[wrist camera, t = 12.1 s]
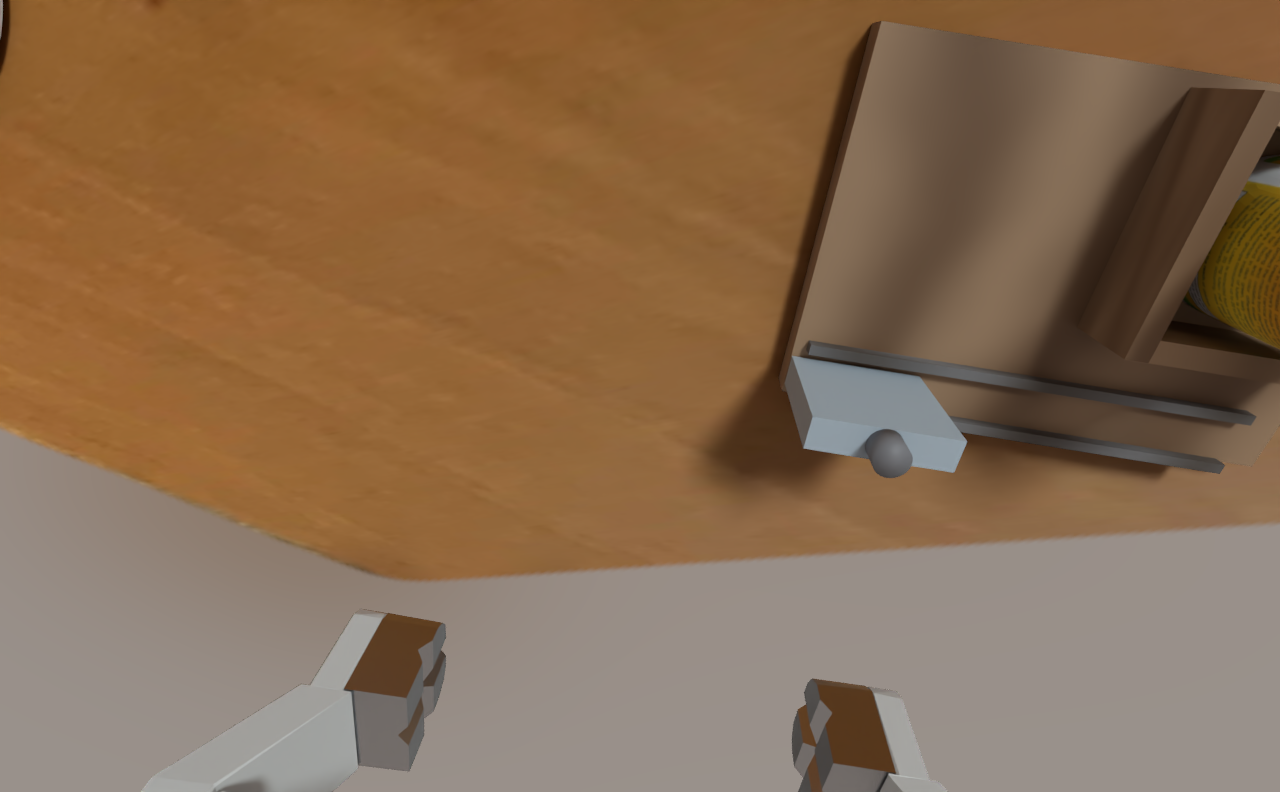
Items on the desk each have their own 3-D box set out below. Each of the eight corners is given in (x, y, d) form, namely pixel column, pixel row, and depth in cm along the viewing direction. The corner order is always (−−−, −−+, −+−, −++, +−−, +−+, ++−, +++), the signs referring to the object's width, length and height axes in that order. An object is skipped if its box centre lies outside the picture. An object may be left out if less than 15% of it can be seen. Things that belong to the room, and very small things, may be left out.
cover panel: (784, 383, 26) (807, 464, 21) (791, 355, 25) (818, 432, 20) (909, 403, 26) (965, 490, 21) (919, 376, 25) (979, 458, 20)
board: (776, 384, 27) (789, 434, 24) (872, 23, 21) (909, 13, 18) (1225, 457, 27) (1310, 518, 24) (1447, 114, 21) (1607, 124, 18)
